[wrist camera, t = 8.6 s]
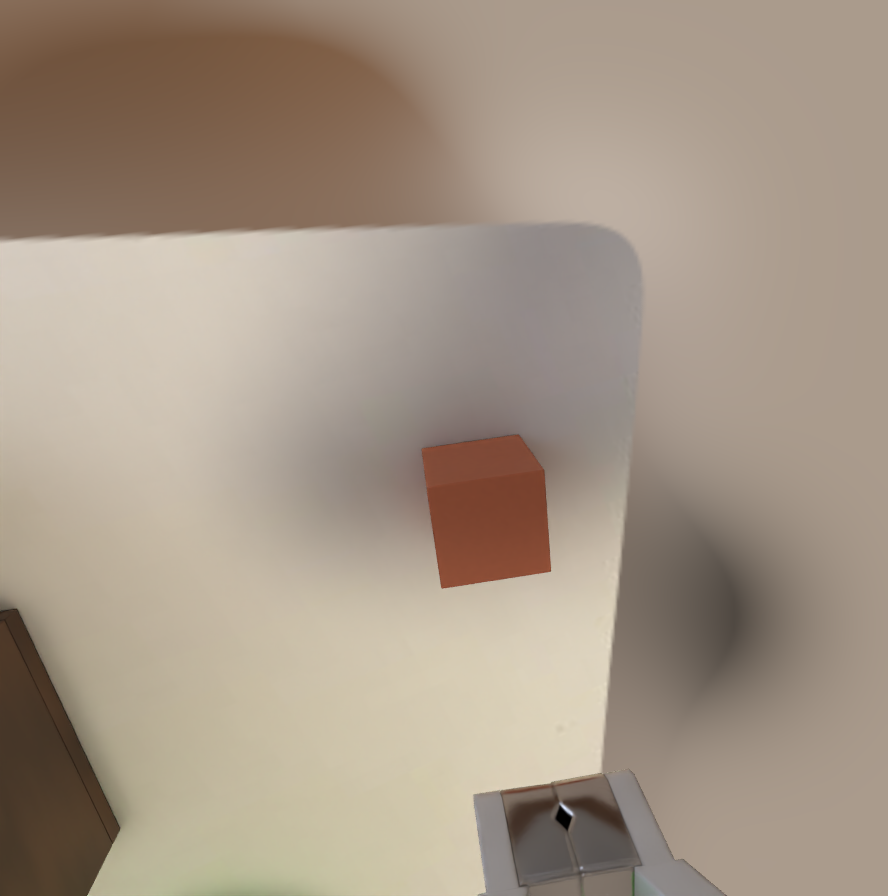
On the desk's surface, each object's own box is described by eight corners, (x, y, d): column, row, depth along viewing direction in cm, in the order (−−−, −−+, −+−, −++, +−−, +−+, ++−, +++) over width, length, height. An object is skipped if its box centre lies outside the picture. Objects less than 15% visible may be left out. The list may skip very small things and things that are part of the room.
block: (421, 448, 24) (426, 487, 19) (519, 433, 24) (544, 469, 20) (434, 535, 25) (441, 589, 21) (526, 521, 25) (551, 572, 21)
